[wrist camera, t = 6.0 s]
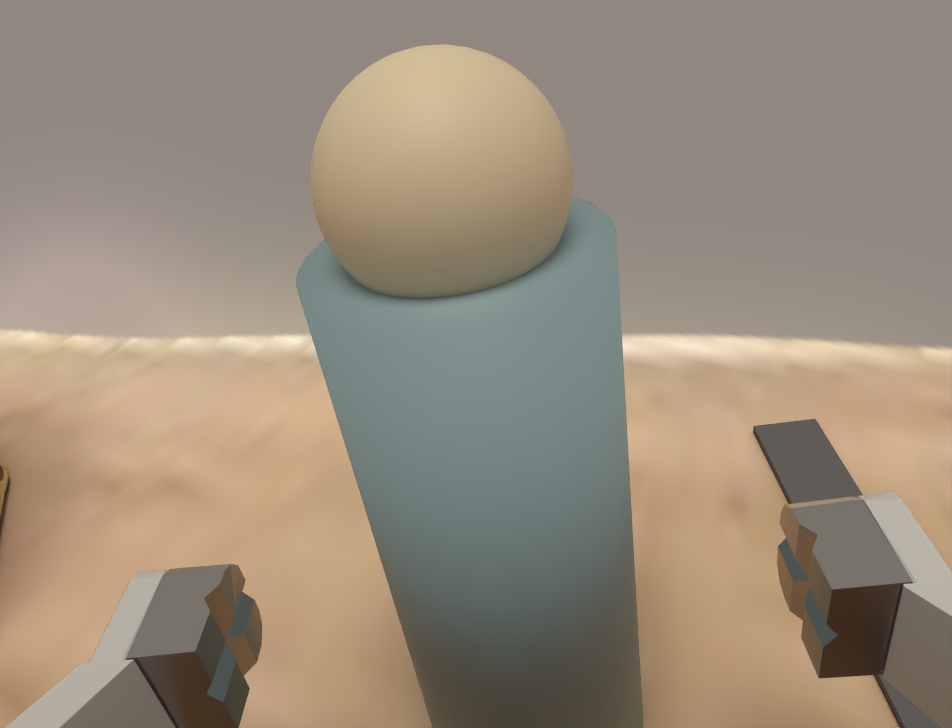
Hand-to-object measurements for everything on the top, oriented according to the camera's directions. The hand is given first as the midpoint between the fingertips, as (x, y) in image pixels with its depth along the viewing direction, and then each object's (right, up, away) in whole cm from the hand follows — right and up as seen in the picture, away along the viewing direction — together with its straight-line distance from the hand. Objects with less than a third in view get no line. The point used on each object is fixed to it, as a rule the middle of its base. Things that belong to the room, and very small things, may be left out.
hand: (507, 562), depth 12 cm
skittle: (+1, -5, +5) cm, 7 cm away
